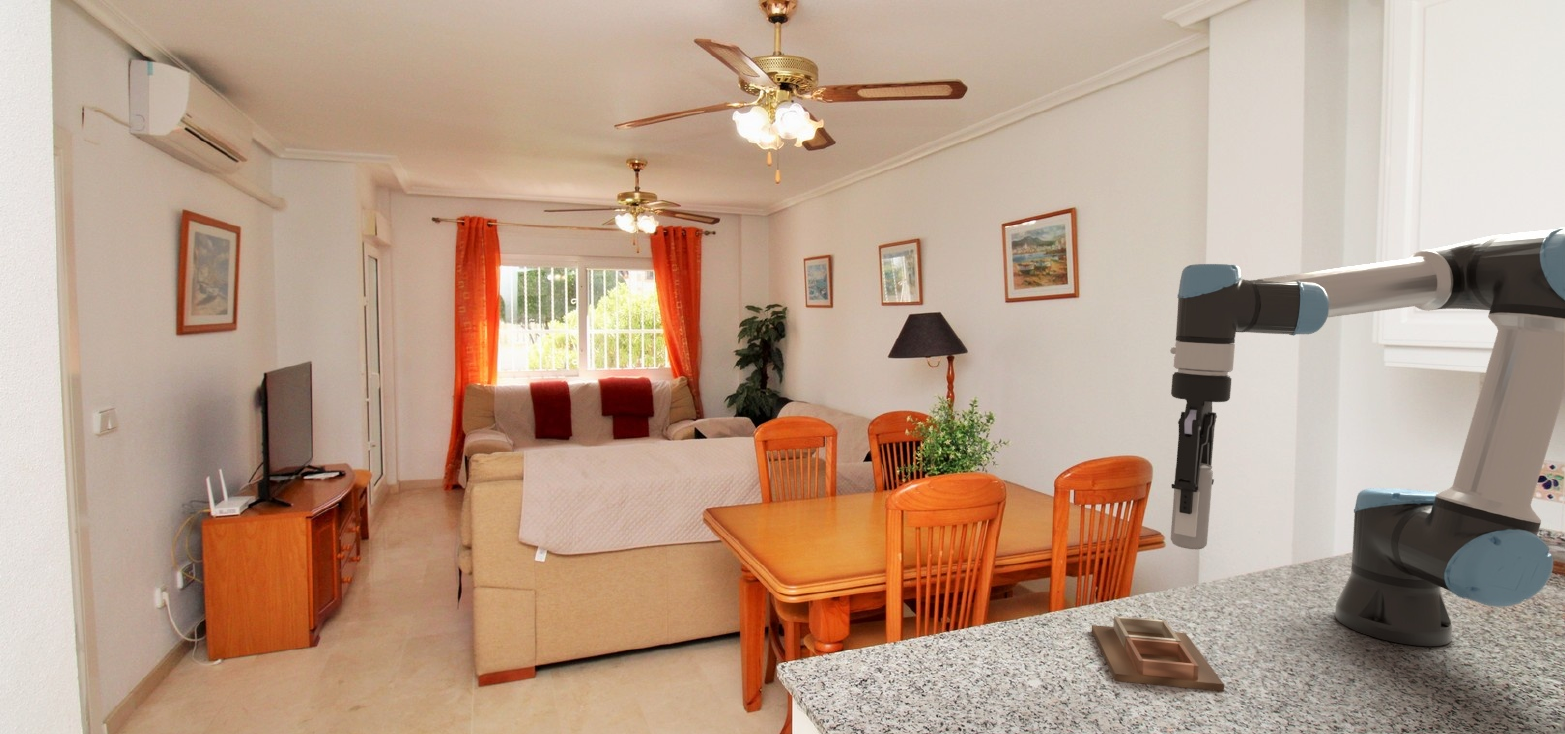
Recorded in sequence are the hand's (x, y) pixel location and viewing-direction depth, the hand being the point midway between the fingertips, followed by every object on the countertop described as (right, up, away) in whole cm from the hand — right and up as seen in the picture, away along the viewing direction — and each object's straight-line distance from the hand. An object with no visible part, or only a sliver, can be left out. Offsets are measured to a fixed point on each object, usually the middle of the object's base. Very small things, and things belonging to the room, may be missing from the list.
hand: (1189, 530), depth 114 cm
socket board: (-4, -20, +2) cm, 20 cm away
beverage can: (0, -2, 0) cm, 2 cm away
